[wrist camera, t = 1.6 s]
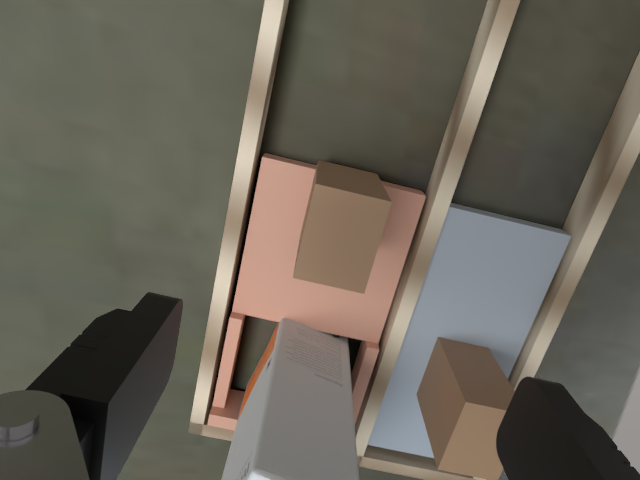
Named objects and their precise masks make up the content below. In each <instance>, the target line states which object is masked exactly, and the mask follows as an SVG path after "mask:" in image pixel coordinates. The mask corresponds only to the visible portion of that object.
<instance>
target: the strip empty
mask: <svg viewBox="0 0 640 480" xmlns="http://www.w3.org/2000/svg"><path fill="white" fill-rule="evenodd" d="M570 239H571V235H569V234H568V233H566V232H564V231H563V230H561V229H559V228H555V227H550V226H546V225H542V224H538V223H534V222H530V221H525V220H521V219H517V218H513V217H509V216H505V215H500V214H496V213H492V212H488V211H484V210H480V209H475V208H471V207H467V206H463V205H459V204H454V203H450V206H449V209H448V212H447V215H446V218H445V220H444V223H443V226H442V229H441V232H440V235H439V238H438V241H437V244H436V247H435V250H434V252H433V255H432V258H431V261H430V264H429V267H428V270H427V273H426V276H425V279H424V281H423V284H422V287H421V290H420V293H419V296H418V299H417V302H416V305H415V308H414V311H413V313H412V316H411V319H410V322H409V325H408V328H407V331H406V334H405V337H404V340H403V342H402V345H401V348H400V351H399V354H398V357H397V360H396V363H395V366H394V369H393V372H392V374H391V377H390V380H389V383H388V386H387V389H386V392H385V395H384V398H383V401H382V403H381V406H380V409H379V412H378V415H377V418H376V421H375V424H374V427H373V430H372V433H371V435H370V438H369V441H368V444H367V445H371V446H376V447H381V448H386V449H390V450H395V451H400V452H405V453H410V454H415V455H420V456H425V457H430V458H434V459H435V462H436V466H437V469H438V470H443V471H448V472H453V473H458V474H463V475H468V476H473V477H477V478H482V479H487V480H498V479H499V477H500V475H501V473H502V471H503V469H504V468H503V466H502V464H501V462H500V460H499V457H498V454H497V449H496V437H497V432H498V428H499V426H500V424H501V422H502V419H503V417H504V415H505V413H506V410H507V408H508V406H509V404H510V402H511V399H512V397H513V395H514V393H515V391H514V389H513V388H512V386H511V384H510V383H509V381H508V378H509V375H510V373H511V371H512V369H513V366H514V364H515V362H516V360H517V357H518V355H519V353H520V351H521V348H522V346H523V344H524V342H525V339H526V337H527V335H528V333H529V330H530V328H531V326H532V324H533V322H534V319H535V317H536V315H537V313H538V310H539V308H540V306H541V304H542V301H543V299H544V297H545V295H546V292H547V290H548V288H549V286H550V283H551V281H552V279H553V277H554V274H555V272H556V270H557V268H558V265H559V263H560V261H561V259H562V257H563V254H564V252H565V250H566V248H567V245H568V243H569V241H570Z"/></svg>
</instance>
